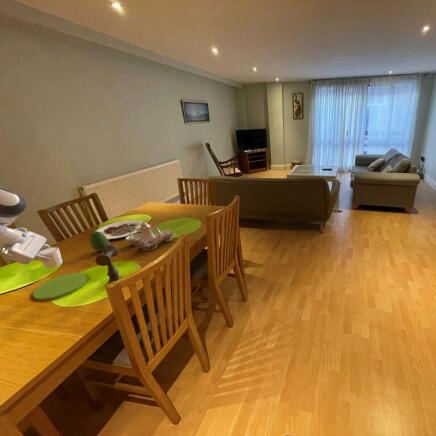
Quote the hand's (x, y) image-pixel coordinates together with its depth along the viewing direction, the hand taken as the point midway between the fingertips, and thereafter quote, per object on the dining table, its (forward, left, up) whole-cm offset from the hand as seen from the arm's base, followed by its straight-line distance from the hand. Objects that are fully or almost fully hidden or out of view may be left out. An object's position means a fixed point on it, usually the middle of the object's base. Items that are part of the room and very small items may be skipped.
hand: (52, 255), depth 103 cm
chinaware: (+41, +10, -15) cm, 45 cm away
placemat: (-1, -1, -15) cm, 15 cm away
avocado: (+20, +24, -15) cm, 35 cm away
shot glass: (-1, 0, -5) cm, 5 cm away
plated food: (+36, +46, -15) cm, 60 cm away
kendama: (+16, -15, -15) cm, 27 cm away
